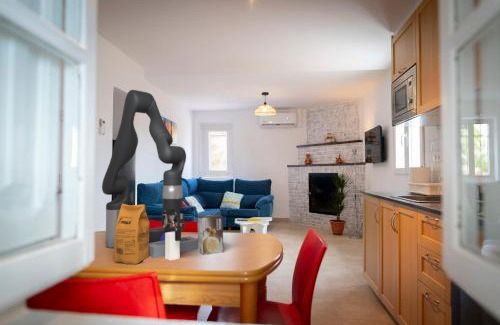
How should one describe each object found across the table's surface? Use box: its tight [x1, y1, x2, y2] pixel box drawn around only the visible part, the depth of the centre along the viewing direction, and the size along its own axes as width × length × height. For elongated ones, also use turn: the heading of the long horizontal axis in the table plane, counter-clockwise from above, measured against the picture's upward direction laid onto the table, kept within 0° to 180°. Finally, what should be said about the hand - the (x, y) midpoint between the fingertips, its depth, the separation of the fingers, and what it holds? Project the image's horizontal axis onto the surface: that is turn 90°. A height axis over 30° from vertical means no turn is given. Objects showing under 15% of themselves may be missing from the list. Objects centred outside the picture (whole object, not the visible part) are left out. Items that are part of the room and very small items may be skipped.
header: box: [149, 236, 198, 259], centre depth 129 cm, size 9×21×5 cm, turn 132°
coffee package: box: [113, 204, 150, 265], centre depth 119 cm, size 10×12×22 cm
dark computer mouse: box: [149, 225, 175, 243], centre depth 137 cm, size 16×5×9 cm, turn 123°
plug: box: [164, 231, 181, 261], centre depth 118 cm, size 4×4×10 cm
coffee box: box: [197, 214, 224, 256], centre depth 127 cm, size 9×6×16 cm
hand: (172, 238), depth 118 cm, fingers open, 8 cm apart
